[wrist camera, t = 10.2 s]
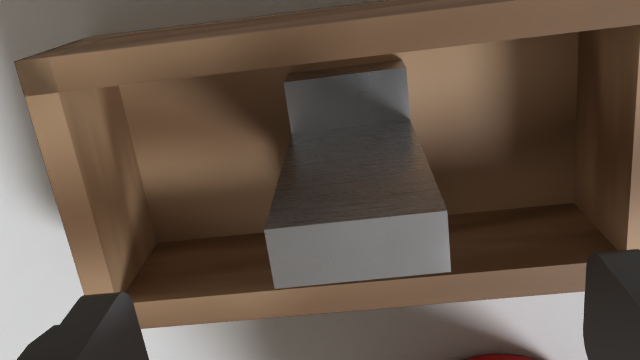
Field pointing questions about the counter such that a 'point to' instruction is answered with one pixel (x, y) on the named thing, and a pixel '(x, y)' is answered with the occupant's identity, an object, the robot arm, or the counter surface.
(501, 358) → the canned food
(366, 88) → the bracket
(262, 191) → the open wooden box
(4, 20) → the counter surface
